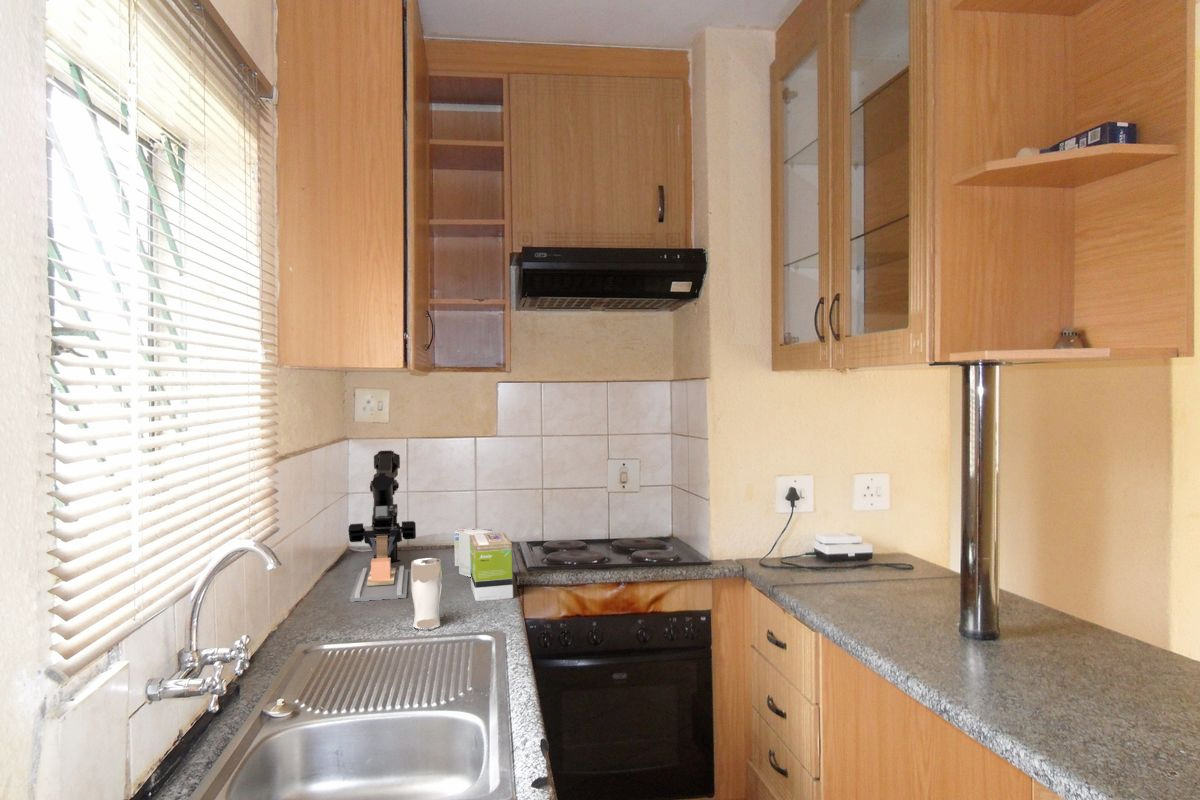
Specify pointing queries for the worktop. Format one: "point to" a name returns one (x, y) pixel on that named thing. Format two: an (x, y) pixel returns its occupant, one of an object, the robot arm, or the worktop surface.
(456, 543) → the light bulb box
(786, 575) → the worktop surface
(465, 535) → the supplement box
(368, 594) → the guide board
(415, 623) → the beer glass
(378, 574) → the terracotta cube
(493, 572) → the tea box
